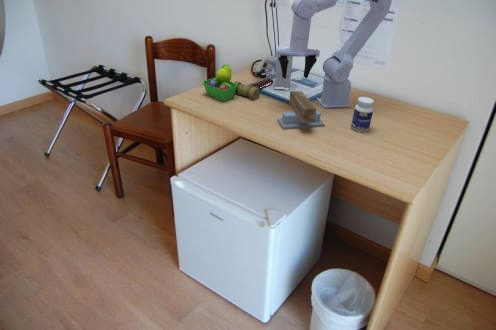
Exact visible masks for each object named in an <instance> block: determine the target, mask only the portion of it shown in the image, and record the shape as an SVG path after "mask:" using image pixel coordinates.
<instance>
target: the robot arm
mask: <svg viewBox="0 0 496 330" xmlns="http://www.w3.org/2000/svg"><path fill="white" fill-rule="evenodd" d="M338 1H339V0H294V1H293V2H292V4H291V10H292V12H293V15H292V17H293V18H292V25H291V33H290V42H289V43H290V44H289V47H290V48H289V49H281V50H278V49H275V56H276V58H277V57H278V59H279V61H280V65H281V69H282V77H283V78H284V79H286V74H287V66H288V63H289V61H288V58H287V57H293V58H294V57H304V70H303V77H304V78H305V79H308V78H309V75H310V72H311V70H312V68H313V67H314V65H315V64H316V63H317V61H318V58H319V57H320V53H321V52H320V50H319V49H312V48H308V45H309V38H310V32H311V31H310V30H311V23H312V22H311V21H312V18H313V17H314V16H315V14H318V13H319V12H322V11H326V10H329V9H330V8H333V7H335V6H336V5H337V3H338ZM368 1H369V10H368V12H366V14H365V16H364V17H363V18H362V19H361V21H360V22H359V24H358V25H357V27H356V28H355V29H354V30H353V32H352V33H351V35H350V36H349V38H348V39H347V40H346V41H345V42H344V44H343V45H342V47H341V48H340V49H339V50H337V51H335V52H333V53H332V55H331V56H330V57H328V58H326V59H325V60H324V62H323V64H322V71H323V72H324V77H323V82H322V89H321V97H316V100H317V101H318V103H319V104H320V105H321V106H322V107H323V109H333V108H348V107H350V103H349V101H350V97H351V92H352V84H351V81H350V79H349V77H350V73H351V70H352V69H354V59H355V58H356V56H357V55H358V54H359V53H360V51H361V50H362V48H363V47H364V46H365V44H366V43H367V42H368V40H369V39H370V38H371V36H372V35H373V34H374V32H375V31H376V30H377V28H378V27H379V26H380V25H381V23H382V22H383V21H384V19H385V18H386V17H387V15H389V12H390V9H391V6H392V1H393V0H368Z"/></svg>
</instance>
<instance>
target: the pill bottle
mask: <svg viewBox="0 0 496 330" xmlns="http://www.w3.org/2000/svg"><path fill="white" fill-rule="evenodd" d="M373 105H374V99H373V98H370V97H367V96H359V97H358V99H357V104H356V105H355V106H354V110H353V115H352V120H351V124H350V125H351V129H352V130H353V131H355V132H359V133H366V132H368V131H369V130H370V126H371V123H372V119H373V113H374V107H373Z"/></svg>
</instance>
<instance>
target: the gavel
mask: <svg viewBox="0 0 496 330" xmlns="http://www.w3.org/2000/svg"><path fill="white" fill-rule="evenodd" d="M273 80H274V79H273V78H266V79H264V80H261V81H258V82H256V83H252V84H250V85H248V84H244V83H242V82H240V81H237V80H236V81H234V82H233V83H235V84H237V85H238V86H237V88H236V91H235V94H234V95H240V96H243V97H246V98H249V99H250V100H253V101H255V100H258V99H259V97H260V95H261V90H260V89H259V88H260V87H262V86H264V85H266V84H268V83H270V82H272V81H273ZM273 82H274V81H273ZM273 82H272V83H273Z"/></svg>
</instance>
